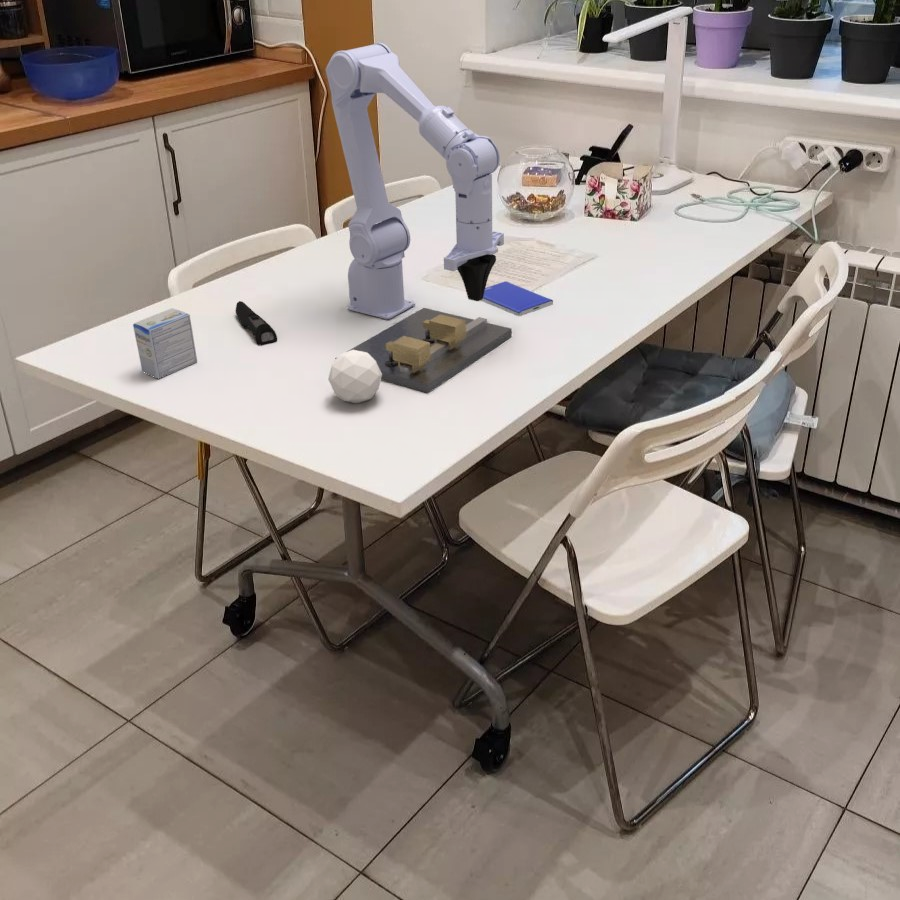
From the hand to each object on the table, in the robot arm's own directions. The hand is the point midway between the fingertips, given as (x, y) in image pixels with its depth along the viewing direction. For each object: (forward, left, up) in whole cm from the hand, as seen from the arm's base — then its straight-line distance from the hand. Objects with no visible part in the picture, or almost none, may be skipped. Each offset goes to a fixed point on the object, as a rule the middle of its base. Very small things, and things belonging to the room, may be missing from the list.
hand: (475, 299), depth 170 cm
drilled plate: (-4, -9, -7) cm, 12 cm away
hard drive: (-3, +17, -8) cm, 19 cm away
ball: (-3, -28, -7) cm, 29 cm away
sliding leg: (-1, -8, -5) cm, 10 cm away
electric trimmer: (-35, -17, -7) cm, 39 cm away
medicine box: (-36, -35, -7) cm, 51 cm away
